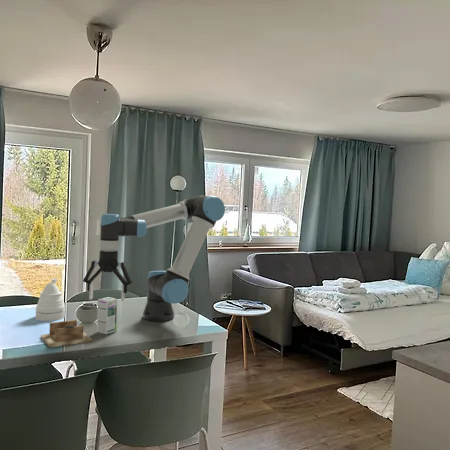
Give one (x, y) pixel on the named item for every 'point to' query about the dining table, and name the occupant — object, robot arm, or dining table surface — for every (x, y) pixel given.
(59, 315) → the honey pot
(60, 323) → the square wooden frame
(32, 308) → the dining table surface
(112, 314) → the syrup box
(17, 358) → the dining table surface
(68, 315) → the dining table surface
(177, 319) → the dining table surface
